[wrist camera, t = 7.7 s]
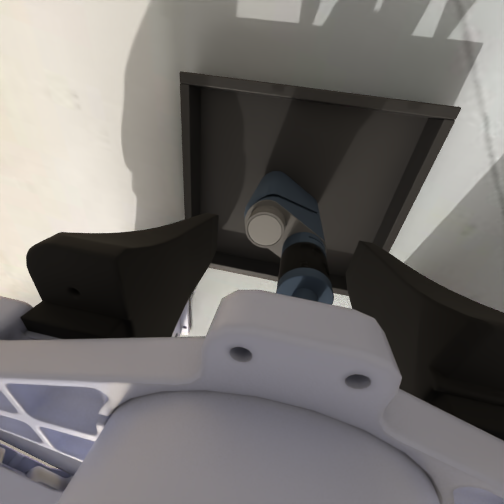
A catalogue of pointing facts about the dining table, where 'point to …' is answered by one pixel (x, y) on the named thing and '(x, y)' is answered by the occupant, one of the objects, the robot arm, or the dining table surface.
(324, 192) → the tray
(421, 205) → the dining table surface
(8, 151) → the dining table surface
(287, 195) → the vaping device
